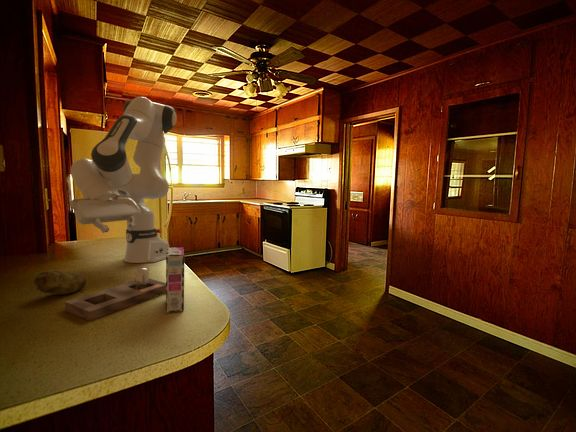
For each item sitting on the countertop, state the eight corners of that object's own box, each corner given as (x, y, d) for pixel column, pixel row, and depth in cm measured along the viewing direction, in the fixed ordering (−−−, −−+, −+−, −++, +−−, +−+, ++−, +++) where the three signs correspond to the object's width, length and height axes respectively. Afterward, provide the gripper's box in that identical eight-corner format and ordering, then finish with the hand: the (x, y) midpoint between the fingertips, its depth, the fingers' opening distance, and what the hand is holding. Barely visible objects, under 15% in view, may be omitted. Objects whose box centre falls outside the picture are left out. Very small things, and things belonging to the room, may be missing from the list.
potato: (87, 293, 93) (86, 269, 92) (34, 302, 85) (32, 275, 85) (86, 286, 100) (85, 263, 99) (36, 293, 92) (34, 268, 91)
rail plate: (146, 284, 103) (146, 277, 103) (170, 291, 98) (169, 283, 97) (65, 310, 81) (64, 300, 81) (90, 320, 76) (89, 310, 75)
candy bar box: (184, 311, 83) (184, 254, 81) (165, 313, 81) (165, 255, 79) (184, 296, 93) (183, 246, 92) (166, 298, 91) (166, 246, 90)
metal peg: (143, 289, 98) (142, 266, 97) (151, 291, 96) (151, 267, 95) (132, 293, 94) (131, 268, 93) (140, 295, 92) (140, 270, 92)
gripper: (71, 192, 90) (91, 227, 87) (132, 192, 108) (151, 220, 105) (63, 206, 92) (83, 240, 89) (124, 203, 111) (142, 231, 107)
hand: (120, 229), depth 97 cm, fingers open, 8 cm apart
